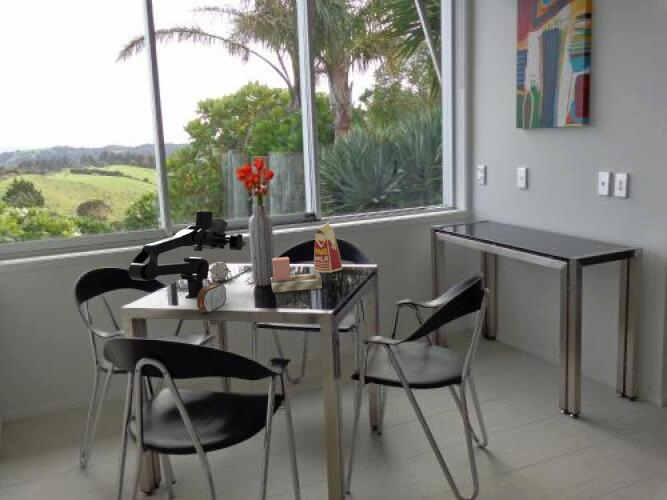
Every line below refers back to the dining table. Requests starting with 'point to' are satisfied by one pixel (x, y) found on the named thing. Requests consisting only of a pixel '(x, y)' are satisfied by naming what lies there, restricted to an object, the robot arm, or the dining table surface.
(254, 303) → the dining table surface
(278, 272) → the coral block
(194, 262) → the robot arm
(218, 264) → the geodesic ball
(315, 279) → the wooden tray
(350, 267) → the dining table surface
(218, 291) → the tin
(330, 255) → the milk carton
